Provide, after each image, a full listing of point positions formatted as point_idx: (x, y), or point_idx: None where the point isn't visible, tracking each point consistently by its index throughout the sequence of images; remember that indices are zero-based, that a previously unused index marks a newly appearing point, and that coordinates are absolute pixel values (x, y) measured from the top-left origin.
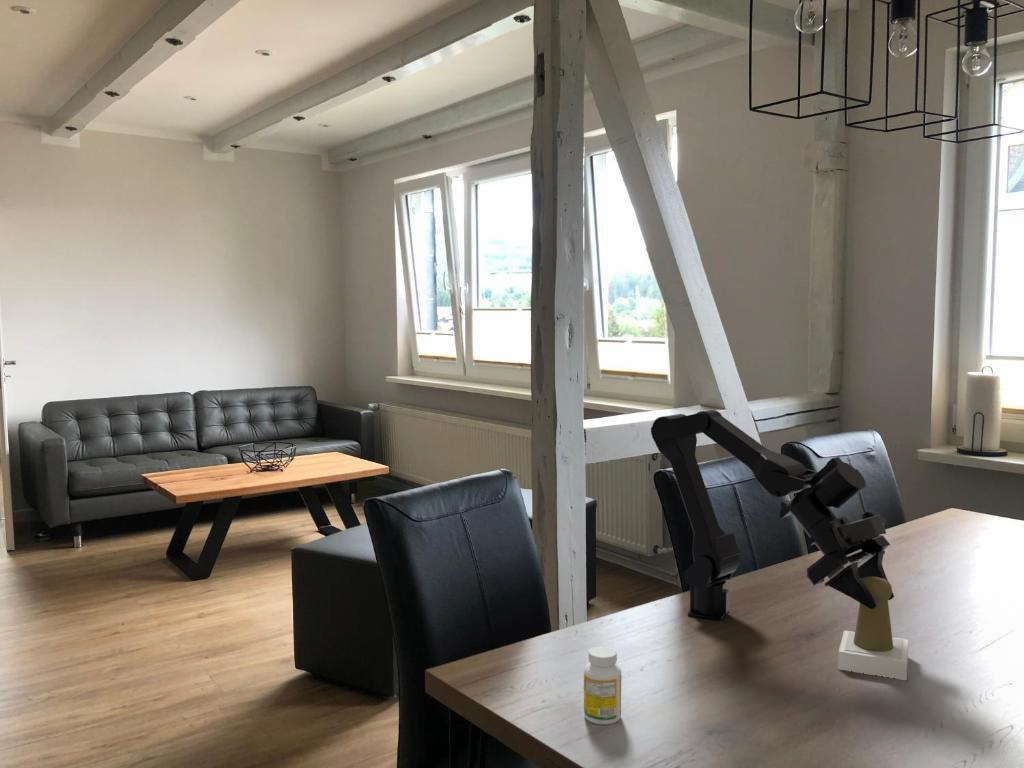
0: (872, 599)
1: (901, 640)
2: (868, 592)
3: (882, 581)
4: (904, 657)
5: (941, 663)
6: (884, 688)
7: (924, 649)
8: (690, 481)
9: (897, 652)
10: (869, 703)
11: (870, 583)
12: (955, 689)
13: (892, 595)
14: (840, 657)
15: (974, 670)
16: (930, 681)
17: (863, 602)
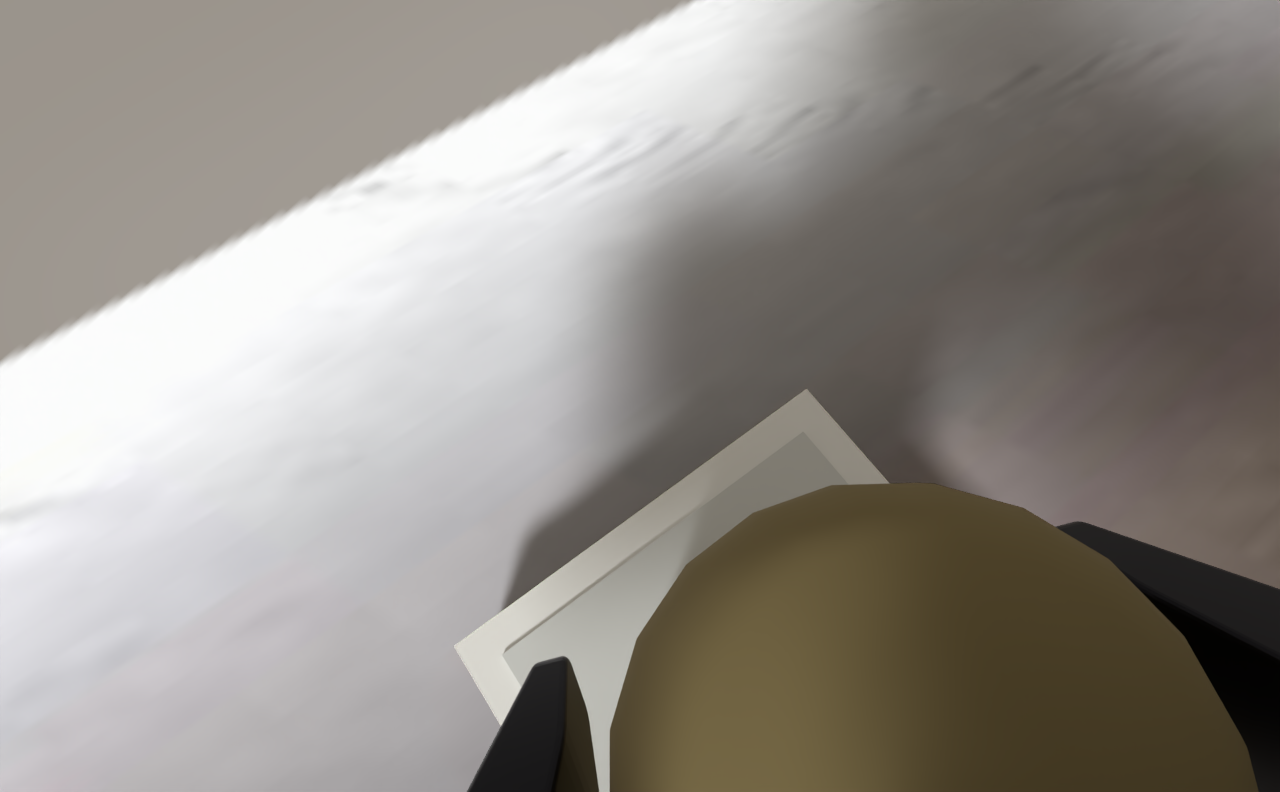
0: (1150, 554)
1: (526, 648)
2: (1243, 620)
3: (918, 601)
4: (761, 442)
5: (409, 486)
6: (982, 419)
7: (284, 680)
8: None
9: (746, 509)
10: (1195, 337)
11: (1202, 701)
12: (653, 254)
13: (566, 664)
14: None
15: (357, 346)
16: (679, 364)
17: None
